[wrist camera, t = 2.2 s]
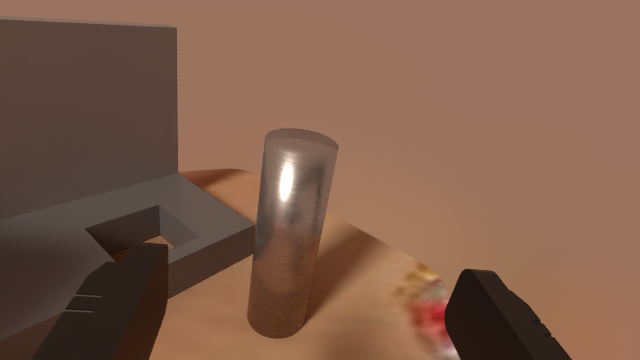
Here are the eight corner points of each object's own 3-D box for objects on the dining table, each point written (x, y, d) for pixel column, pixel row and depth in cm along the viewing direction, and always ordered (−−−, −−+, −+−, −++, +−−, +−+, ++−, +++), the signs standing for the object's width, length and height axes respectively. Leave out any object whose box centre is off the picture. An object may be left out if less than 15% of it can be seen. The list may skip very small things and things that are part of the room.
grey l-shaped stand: (251, 254, 31) (270, 58, 24) (-32, 403, 18) (-170, 69, 11) (171, 195, 38) (168, 25, 30) (-84, 274, 24) (-194, 5, 17)
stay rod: (316, 316, 27) (352, 147, 21) (276, 349, 24) (305, 163, 18) (276, 285, 29) (299, 124, 23) (234, 312, 26) (249, 135, 20)
